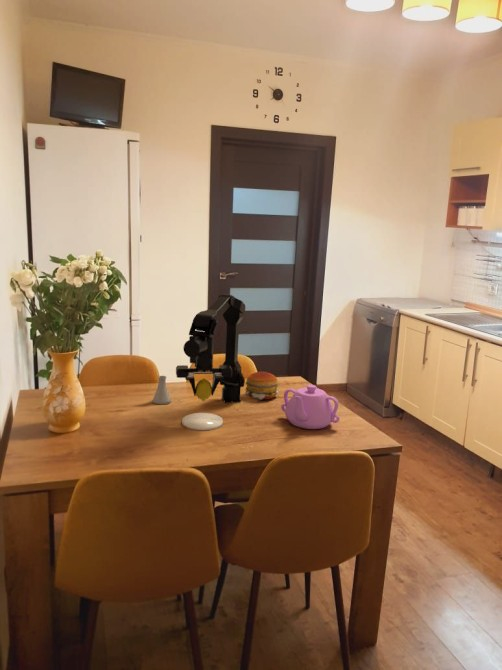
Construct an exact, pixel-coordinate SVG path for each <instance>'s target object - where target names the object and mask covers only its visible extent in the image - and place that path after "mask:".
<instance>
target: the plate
mask: <svg viewBox="0 0 502 670" xmlns="http://www.w3.org/2000/svg"><path fill="white" fill-rule="evenodd" d="M181 423H182V425H183V427H185V428H187V429H189V430H194V431H201V430H202V431H205V432H206V431H213V430H216V429H219V428H221V427H222V426H223V424H224V420H223V418H222V417H221V416H219V415H218V414H215V413H209V412H195V413H191V414H186V415H185V416H184V417H182V421H181Z"/></svg>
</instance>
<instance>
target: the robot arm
mask: <svg viewBox="0 0 502 670" xmlns="http://www.w3.org/2000/svg"><path fill="white" fill-rule="evenodd" d="M245 312H246V305H245V302H244V301H243V300H241V299H239V298H236V297H235V296H234V295H232V294H229V293H228V294H227V293H225V294H224V293H221V294H219V295H218V298H217V299H216V300H215V302H213V304H212V305H211V306H210V307H209V308H208V309H207V310H201V311H200V312H198V313H196V314H195V316H194V317H193V319H192V322H191V326H190V328H189V331H188V332H189V333H188V336H189V337H188V338H189V339H188V340H187V341H186V342H185V343H184V344H183V346H182V347H183V352H184V354H185V355H186V356H187V357H188V358H189V364H194V368H193V367H192V368H191V367H189V366H188V364H187V365H185V364H183V365H181V364H180V365H176V367H175V376H176V378H179V379H180V378H181V379H182V378H184V379H185V380H186V381H189V383H190V385H191V389H192V391H193V392H192V393H193V396H194V397H197V395H196V379H195V376H194V375H207V374H209V375H212V382H211V387H212V392H211V395H210V396H213V395H214V394H215V391H216V389H217V387H218V385H220V386H223V387H222V388H221V399H222V400H223V402H224V403H241V402H242V400H241V388H244V387H245V384H246V378H245V377H244V375H243V372H242V366H241V364H240V362H239V360H238V359H239V358H238V356H239V335H240V334H239V332H240V323H241V321H242V320H243V318H244V315H245ZM221 317H222V318H223V320H224V321H225V323H226V326H225V327H226V328H225V329H226V330H225V353H224V355H225V356H224V362H223V363H222V364H219V365H218V367H213V366H214V337H215V336H216V331H217V329H218V327H219V320H220V318H221Z"/></svg>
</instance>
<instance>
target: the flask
mask: <svg viewBox="0 0 502 670" xmlns="http://www.w3.org/2000/svg"><path fill="white" fill-rule="evenodd" d="M157 378H158V383H157V388H156V391H155V393H154V396H153V399H152V403H153V404H155V405H156V404H157V405H168V404H171V403H172V399H171V397H170V394H169V391H168V386H167V383H166V381H167V375H158V376H157Z"/></svg>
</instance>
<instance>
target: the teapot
mask: <svg viewBox="0 0 502 670" xmlns="http://www.w3.org/2000/svg"><path fill="white" fill-rule="evenodd" d="M289 392H291V393H293V394H292V396H291V397H290V399H289V397H288V396H289V395H288V394H289ZM283 400H284V403H283V404H281V405H280V408H281V410H282V411H283V412H285V413H284V415H285V418H286V419H287V420H288V421H289V423H290V424H292V425H293V426H295V427H298V428H303V429H306V430H309V429H310V430H318V429H325V428H327V427H328V426H329V425H330V424H332V423H333V424H337V423H339V422H340V420H341V419H340V416H339V415H338V414H337V412H338V409H339V400H338V399H337V398H336V397H335V396H332V395H328V394H327V392H326V391H325V390H323V389H320V388H317V385H315V384H307V385H306V387H300V388H298V389H295V388H287V389H286V390H285V391H284V393H283ZM332 401H333V403H334V407H333V404H332Z"/></svg>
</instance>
